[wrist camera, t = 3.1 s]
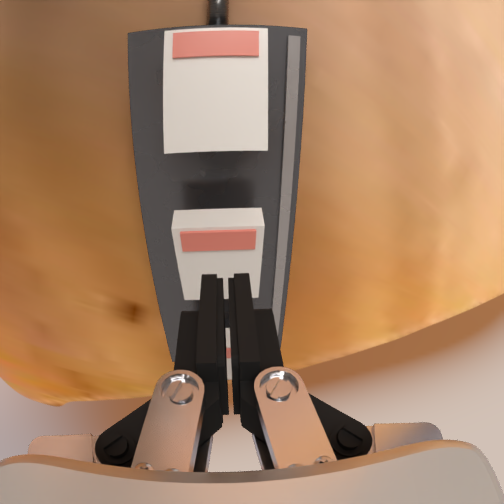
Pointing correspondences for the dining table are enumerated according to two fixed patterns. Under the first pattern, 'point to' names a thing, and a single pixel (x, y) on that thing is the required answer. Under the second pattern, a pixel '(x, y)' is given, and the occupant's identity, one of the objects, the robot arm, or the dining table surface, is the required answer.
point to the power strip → (218, 168)
